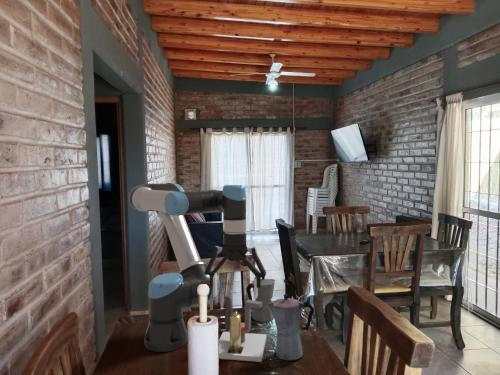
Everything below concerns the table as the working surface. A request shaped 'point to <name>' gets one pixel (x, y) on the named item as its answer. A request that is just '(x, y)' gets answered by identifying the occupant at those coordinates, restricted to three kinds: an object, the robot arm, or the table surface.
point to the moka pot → (289, 326)
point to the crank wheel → (248, 304)
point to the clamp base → (243, 347)
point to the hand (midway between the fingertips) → (235, 296)
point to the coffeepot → (262, 300)
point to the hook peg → (235, 333)
